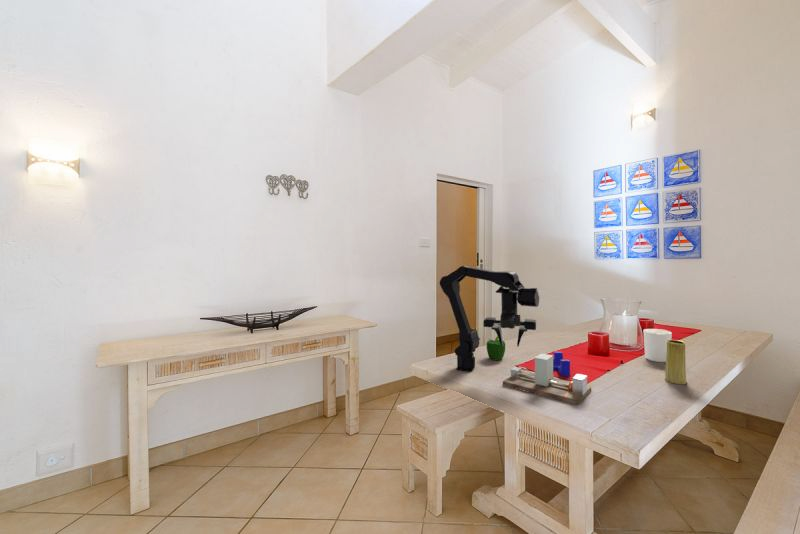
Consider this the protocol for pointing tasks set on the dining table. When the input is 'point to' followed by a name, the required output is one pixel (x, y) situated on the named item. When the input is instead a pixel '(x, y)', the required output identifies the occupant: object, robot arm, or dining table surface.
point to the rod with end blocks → (575, 385)
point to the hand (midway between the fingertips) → (509, 345)
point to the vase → (675, 362)
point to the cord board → (546, 389)
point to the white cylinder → (656, 344)
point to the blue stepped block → (561, 364)
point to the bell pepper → (495, 349)
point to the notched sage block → (543, 369)
